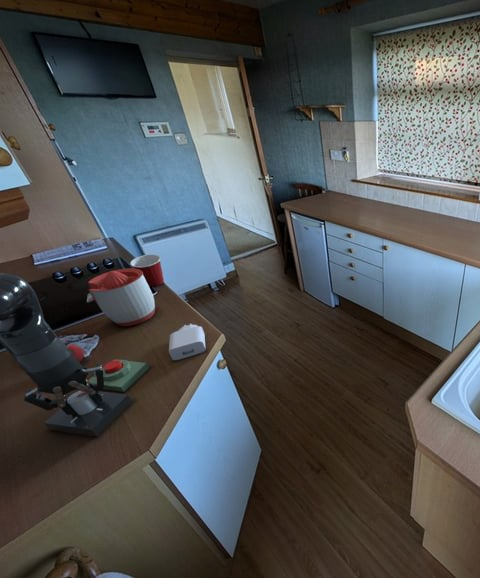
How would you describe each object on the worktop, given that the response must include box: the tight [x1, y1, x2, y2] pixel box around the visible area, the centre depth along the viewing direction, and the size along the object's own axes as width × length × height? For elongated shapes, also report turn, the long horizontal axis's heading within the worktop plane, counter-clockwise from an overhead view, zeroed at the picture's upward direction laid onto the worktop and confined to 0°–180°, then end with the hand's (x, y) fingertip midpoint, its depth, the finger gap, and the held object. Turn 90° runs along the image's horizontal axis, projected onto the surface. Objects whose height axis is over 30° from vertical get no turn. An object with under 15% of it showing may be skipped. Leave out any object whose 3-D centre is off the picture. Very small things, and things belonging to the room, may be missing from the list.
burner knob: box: [66, 390, 97, 415], centre depth 73 cm, size 4×4×5 cm
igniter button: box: [103, 359, 123, 374], centre depth 84 cm, size 4×4×2 cm
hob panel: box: [43, 390, 133, 438], centre depth 75 cm, size 13×10×3 cm
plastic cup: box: [129, 253, 165, 287], centre depth 128 cm, size 11×11×12 cm
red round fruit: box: [66, 344, 85, 363], centre depth 88 cm, size 6×6×8 cm
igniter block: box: [88, 358, 150, 393], centre depth 85 cm, size 11×9×4 cm
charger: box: [168, 323, 206, 361], centre depth 98 cm, size 5×9×15 cm
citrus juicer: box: [86, 267, 156, 327], centre depth 105 cm, size 16×17×20 cm
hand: (87, 407), depth 74 cm, fingers closed on burner knob, 4 cm apart
